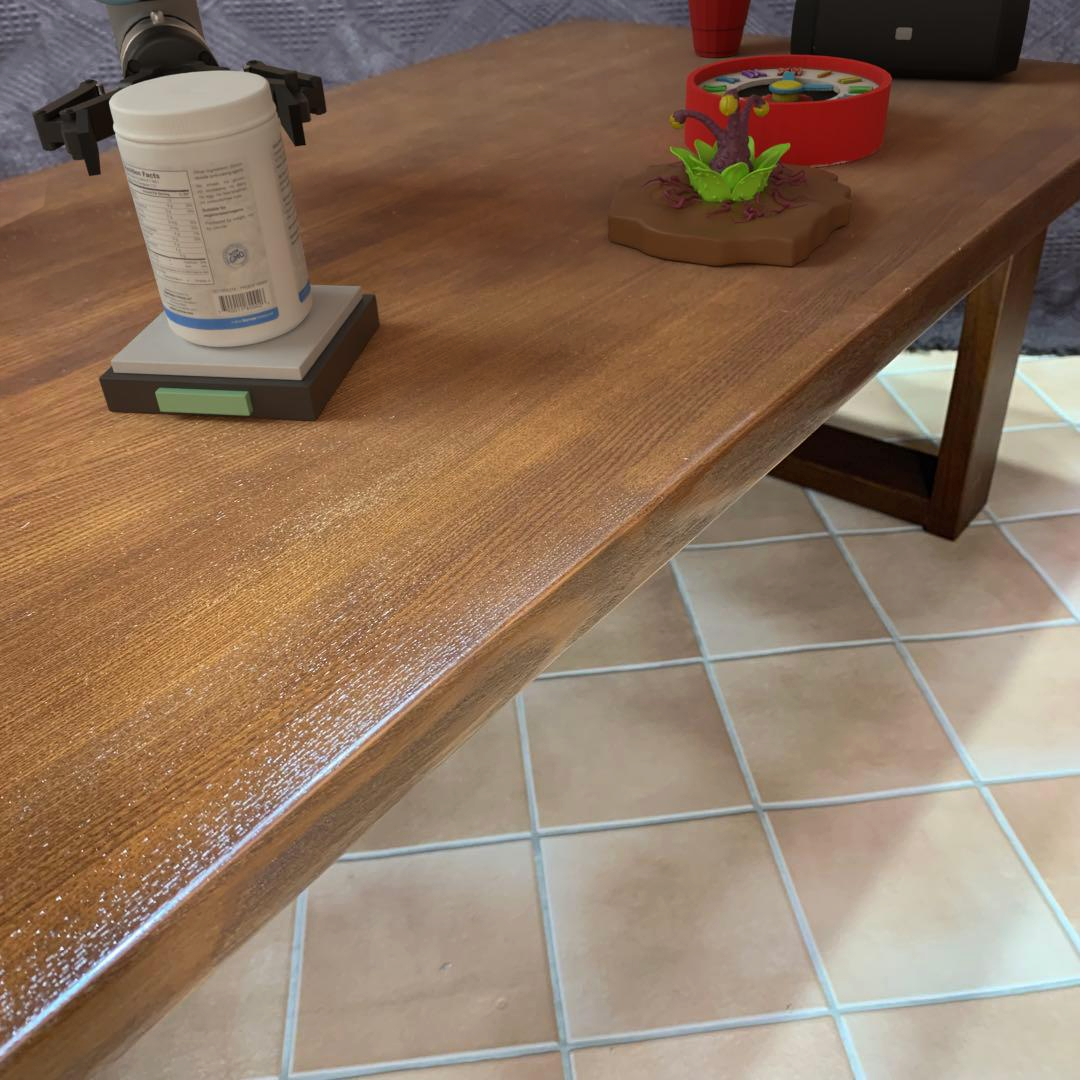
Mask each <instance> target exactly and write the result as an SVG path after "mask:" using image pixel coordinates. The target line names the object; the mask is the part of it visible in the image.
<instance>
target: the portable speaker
mask: <svg viewBox="0 0 1080 1080" xmlns="http://www.w3.org/2000/svg"><path fill="white" fill-rule="evenodd" d="M1030 6H1031V0H795V3H794V9H793V15H792V21H791V31H790V46H789V51H790V52H789V55H815V56H829V57H837V58H845V59H851V60H856V61H861V62H865V63H869V64H872V65H875V66H878V67H880V68H882V69H884V70H885V71H887V72H888V73H889V74H890V75H891V77H892V78H897V79H898V78H899V79H927V80H928V79H930V80H931V79H935V80H959V81H961V80H963V81H965V80H966V81H990V80H991V79H994V78H997V77H1000V76H1003V75H1006V74H1009V73H1013V72H1015V71H1017V69H1018V66H1019V61H1020V58H1021V53H1022V49H1023V44H1024V40H1025V34H1026V29H1027V23H1028V17H1029V12H1030Z"/></svg>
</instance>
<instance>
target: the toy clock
mask: <svg viewBox="0 0 1080 1080" xmlns="http://www.w3.org/2000/svg"><path fill="white" fill-rule="evenodd" d="M892 81H893V77H891V75H890V74H889V73H888V72H887V71H885V70H884V69H882V68H880V67H878V66H875V65H872V64H869V63H865V62H861V61H856V60H851V59H845V58H837V57H829V56H815V55H790V54H770V55H755V56H745V57H744V56H743V57H736V58H731V59H726V60H722V61H721V60H720V61H716V62H713V63H709V64H706V65H703V66H701V67H698V68H696V69H694V70H693V71H692V72H690V73H689V74H688V75H687V77H686V84H685V85H686V87H685V110H695V111H698V112H702V113H703V114H706V115H708V117H710V118H711V119H712V120H714V121H715V123H716V124H717V125H718V126H719V127H720V128H722V129H723V130H724V131H725V128H726V126H728V117H729V115H728V116H726V115H724V114H723V113H722V112H721V111H720V100H721V98H722V97H723V96H724V94H725V93H726V92H727V91H728V90H730V89H734V88H736V89H737V93H738V96H739V97H740V99H739V104H740V106H741V109H740V115H741V111H742V110H743V108H744V104H746V101H747V100H748V99H749V97H750V96H752V95H753V94H754V95H757V96H760V97H761V98H763V99H764V100H765V101H767V103H768V104H769V112H768V113H767V115H765V116H764V117H760V116H757V115H756V113H755V111H754V104H752V107H751V108H752V109H751V111H750V115H749V123H748V136H751V137H752V139H753V141H754V157H756V158H758V157H759V156H760V155H761V154H762V153H763V152H765V151H766V150H768V149H769V148H771V147H773V146H776V145H780V144H786V143H790V148H789V149H788V150H787V151H786V152H785V153H784V154H783V155H782V156H781V157H780V159H779V160H780V161H781V163H784V164H790V165H799V166H808V167H813V168H820V167H829V166H836V165H841V164H846V162H847V163H849V162H853V161H857V160H861V159H864V158H865V157H868V156H870V155H873V154H874V153H876V152H877V151H879V150H880V148H881V147H882V146H883V145H884V141H885V133H886V126H887V120H888V119H887V118H888V111H889V103H890V97H891V89H892ZM696 139H698V140H701V141H703V142H704V143H706V144H708V145H710V146H711V147H712V148H713V147H714V145H715V142H716V138H715V137H714V135H713V133H712V132H711V131H710V130H709V129H708V128H707V127H706V126H705V125H704V124H703V123H702V122H701V121H699V120H697V119H695V118H692V117H687V118H686V121H685V124H684V143H685V145H686V147H687V148H688V149H690V151H692V152H694V153H696V154H697V155H698V152H697V150H696V148H695V145H694V142H695V140H696ZM840 163H841V164H840ZM835 164H836V165H835Z"/></svg>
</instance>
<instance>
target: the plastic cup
mask: <svg viewBox="0 0 1080 1080" xmlns="http://www.w3.org/2000/svg"><path fill="white" fill-rule="evenodd" d="M687 3H688V4H687V5H688V14H689V22H690V27H691V35H692V41H693V42H692V44H693V50H694V54H695V55H696V56H699V57H702V58H703V57H704V58H726V57H732V56H735V55H737V54H738V53H739V50H740V48H741V45H742V39H743V35H744V30H745V26H746V24H747V20H748V15H749V11H750V6H751V3H752V0H687Z"/></svg>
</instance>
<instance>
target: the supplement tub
mask: <svg viewBox="0 0 1080 1080" xmlns="http://www.w3.org/2000/svg"><path fill="white" fill-rule="evenodd" d="M109 105H110V109H111V113H112V117H113V121H114V124H113V129H114V131H115V135H114V136H115V139H116V144H117V147H118V150H119V154H120V159H121V163H122V165H123V169H124V172H125V176H126V179H127V183H128V187H129V191H130V194H131V198H132V200H133V204H134V209H135V211H136V216H137V218H138V219H137V220H138V222H139V226H140V229H141V233H142V236H143V239H144V243H145V247H146V250H147V254H148V257H149V261H150V264H151V268H152V271H153V275H154V278H155V282H156V286H157V289H158V293H159V297H160V299H161V303H162V306H163V311H164V310H165V313H166V317H167V320H168V324H169V326H170V328H171V329H172V330H173V331H174V333H175V334H177V335H178V336H179V337H181V338H182V339H184V340H186V341H189V342H191V343H194V344H198V345H203V346H210V347H235V346H243V345H249V344H255V343H260V342H263V341H267V340H270V339H272V338H275V337H278V336H280V335H283V334H285V333H287V332H289V331H290V330H292V329H293V328H295V327H296V326H298V325H299V324H300V323H301V322H302V321H303V320H304V319H305V317H306V316H307V315H308V313H309V311H310V309H311V306H312V292H311V286H310V285H311V280H310V276H309V271H308V265H307V260H306V256H305V251H304V246H303V239H302V235H301V229H300V224H299V219H298V214H297V209H296V203H295V199H294V198H295V197H294V193H293V192H294V191H293V186H292V183H291V181H292V180H291V177H290V173H289V172H290V171H289V166H288V162H287V155H286V150H285V145H284V139H283V133H282V129H281V123H280V118H278V114H277V112H276V105H275V103H274V102H273V99H272V94H271V90H270V85H269V82H268V81H267V80H266V79H265V78H264V77H262V76H260V75H257V74H253V73H248V72H244V71H241V70H231V71H202V72H190V73H183V74H175V75H169V76H164V77H159V78H155V79H151V80H147V81H143V82H140V83H137V84H134V85H131V86H129V87H126V88H124V89H122V90H120V91H119V92H117V93H116V94H114V95H113V96H112V97H111V99H110V101H109Z"/></svg>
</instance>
